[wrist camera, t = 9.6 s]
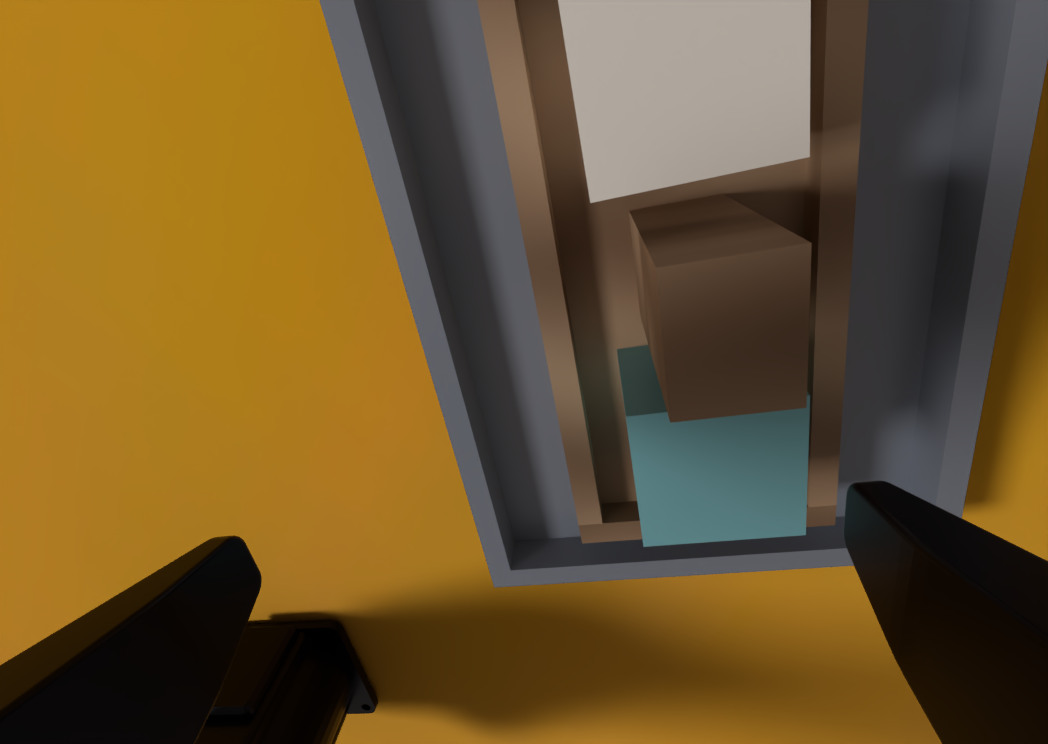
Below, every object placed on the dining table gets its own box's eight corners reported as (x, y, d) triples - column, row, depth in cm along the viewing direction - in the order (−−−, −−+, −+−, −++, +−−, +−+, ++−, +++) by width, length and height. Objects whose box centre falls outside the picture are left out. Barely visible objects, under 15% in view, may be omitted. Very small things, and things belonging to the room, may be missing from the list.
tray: (911, 508, 19) (953, 559, 17) (503, 540, 22) (494, 587, 20) (1036, -401, 10) (1162, -546, 8) (312, -157, 13) (255, -214, 11)
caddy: (810, 485, 18) (927, 675, 12) (582, 504, 20) (581, 684, 13) (837, -208, 11) (1172, -640, 5) (470, -99, 12) (353, -320, 6)
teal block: (758, 445, 17) (805, 535, 13) (631, 458, 17) (643, 546, 14) (756, 329, 15) (810, 395, 12) (616, 349, 16) (626, 416, 12)
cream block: (748, 146, 13) (809, 157, 10) (588, 180, 14) (590, 202, 10) (740, -48, 12) (810, -123, 8) (560, 2, 12) (550, -45, 9)
